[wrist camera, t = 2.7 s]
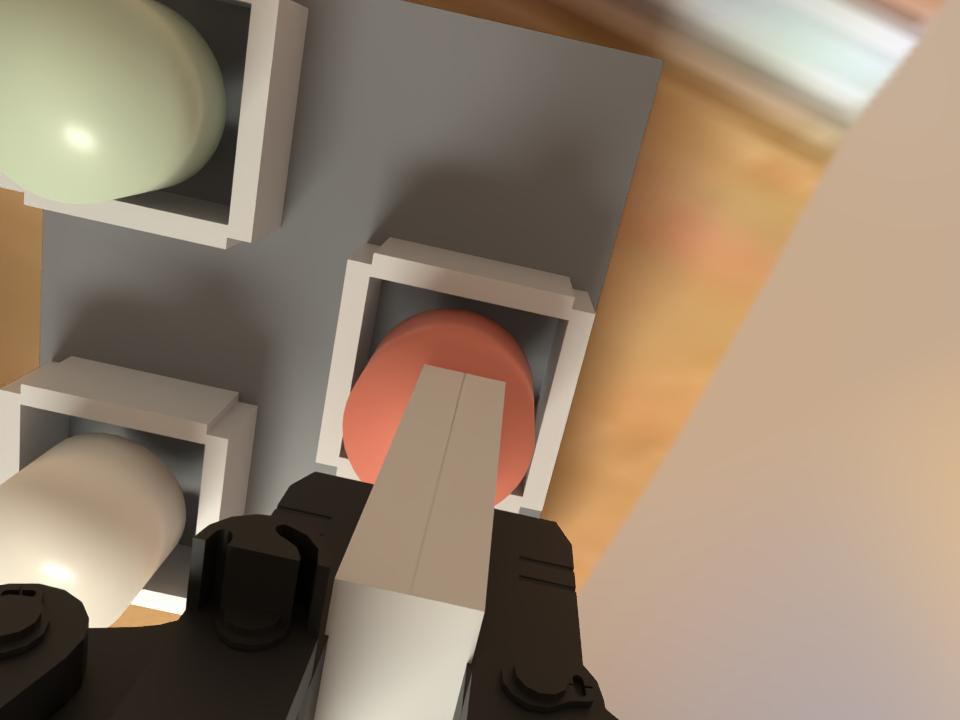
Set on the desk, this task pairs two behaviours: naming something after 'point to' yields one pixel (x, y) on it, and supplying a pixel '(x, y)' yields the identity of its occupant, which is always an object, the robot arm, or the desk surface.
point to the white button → (91, 521)
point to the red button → (452, 346)
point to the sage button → (104, 98)
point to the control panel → (332, 245)
